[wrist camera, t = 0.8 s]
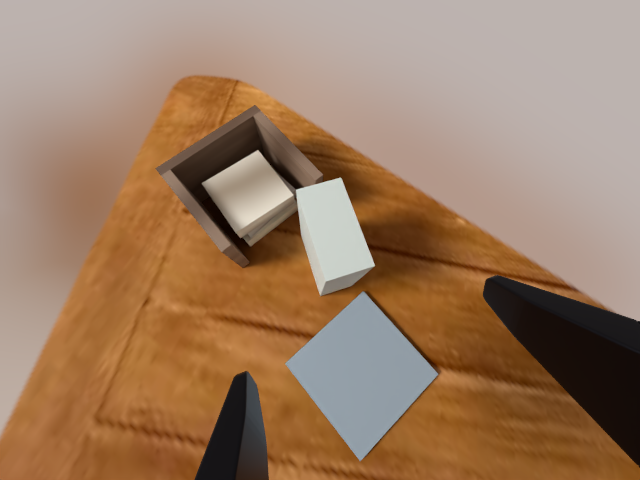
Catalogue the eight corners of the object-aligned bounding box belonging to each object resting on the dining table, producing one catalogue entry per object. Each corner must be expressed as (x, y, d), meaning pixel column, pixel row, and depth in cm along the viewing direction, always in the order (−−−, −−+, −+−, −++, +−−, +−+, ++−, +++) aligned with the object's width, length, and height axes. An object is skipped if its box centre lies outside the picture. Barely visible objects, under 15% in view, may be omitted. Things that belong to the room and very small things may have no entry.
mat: (435, 372, 22) (438, 374, 22) (359, 458, 20) (360, 461, 20) (362, 291, 24) (363, 291, 24) (285, 362, 22) (285, 363, 22)
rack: (320, 206, 26) (323, 174, 21) (242, 267, 24) (221, 251, 19) (266, 148, 28) (255, 104, 22) (189, 201, 26) (155, 168, 20)
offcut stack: (303, 210, 26) (301, 188, 22) (251, 250, 25) (238, 236, 21) (266, 169, 28) (257, 141, 23) (214, 205, 26) (195, 182, 22)
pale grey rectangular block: (351, 286, 24) (375, 265, 15) (320, 296, 24) (325, 281, 15) (330, 227, 26) (341, 177, 17) (301, 236, 25) (295, 189, 16)
